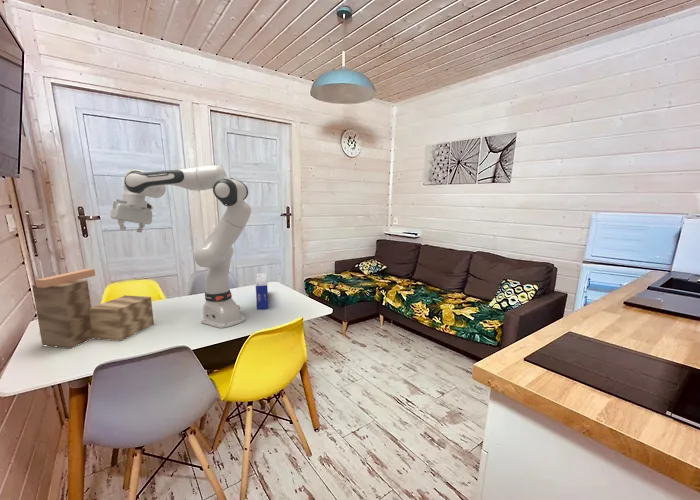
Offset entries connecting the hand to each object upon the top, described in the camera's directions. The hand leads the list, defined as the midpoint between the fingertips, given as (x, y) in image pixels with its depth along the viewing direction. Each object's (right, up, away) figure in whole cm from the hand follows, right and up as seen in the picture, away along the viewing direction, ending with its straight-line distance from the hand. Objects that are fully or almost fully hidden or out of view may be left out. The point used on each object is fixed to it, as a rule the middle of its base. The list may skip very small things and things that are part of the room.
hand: (131, 231), depth 145 cm
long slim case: (-13, -22, -18) cm, 32 cm away
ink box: (+53, -40, +36) cm, 76 cm away
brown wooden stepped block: (-6, -47, -10) cm, 49 cm away
